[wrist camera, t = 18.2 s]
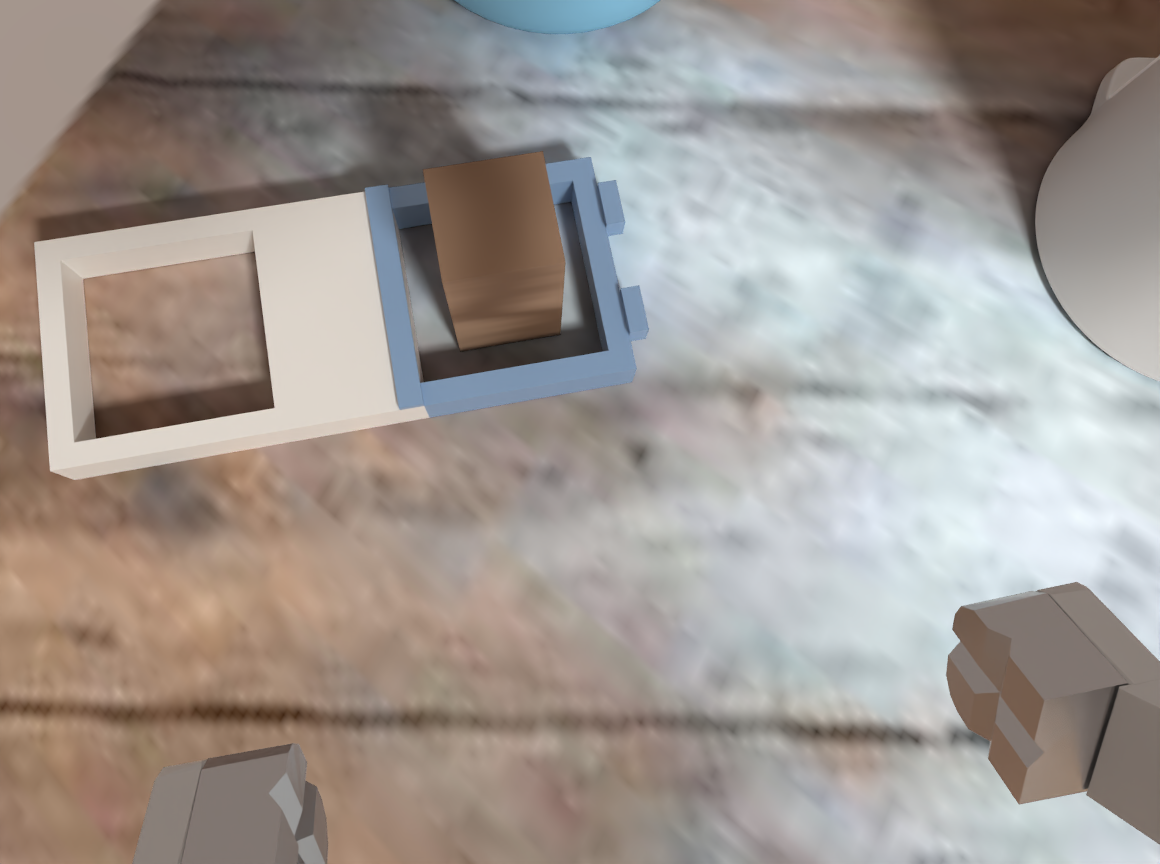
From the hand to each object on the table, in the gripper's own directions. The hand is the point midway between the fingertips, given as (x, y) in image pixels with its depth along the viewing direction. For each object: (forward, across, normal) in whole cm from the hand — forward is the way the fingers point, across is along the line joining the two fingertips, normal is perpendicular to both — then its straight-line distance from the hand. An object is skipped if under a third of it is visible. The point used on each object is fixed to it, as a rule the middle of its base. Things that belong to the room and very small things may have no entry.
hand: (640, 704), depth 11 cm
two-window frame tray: (+31, +7, +8) cm, 33 cm away
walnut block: (+31, 0, +8) cm, 32 cm away
